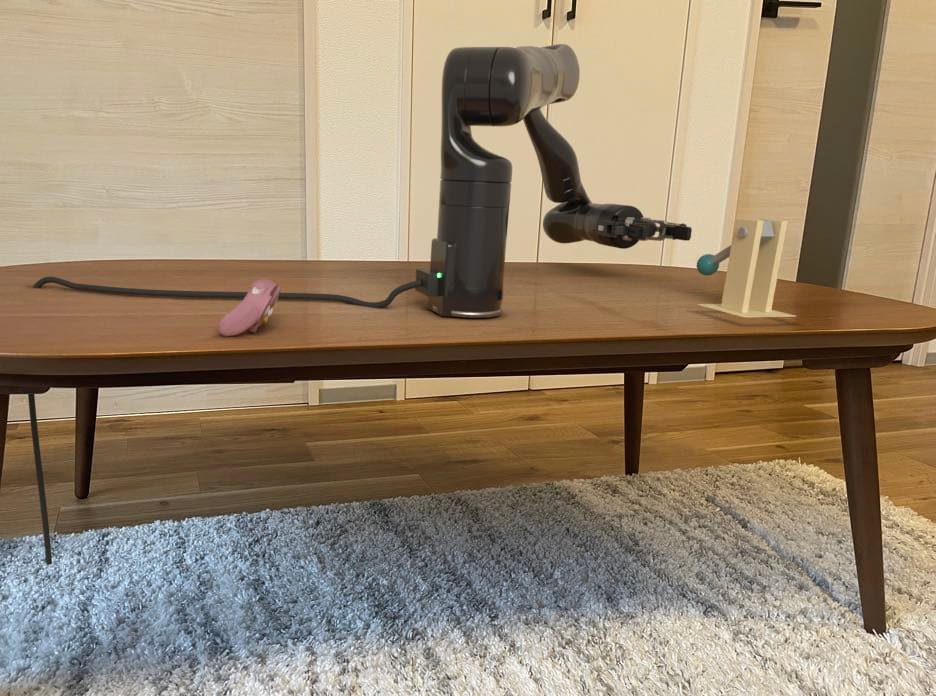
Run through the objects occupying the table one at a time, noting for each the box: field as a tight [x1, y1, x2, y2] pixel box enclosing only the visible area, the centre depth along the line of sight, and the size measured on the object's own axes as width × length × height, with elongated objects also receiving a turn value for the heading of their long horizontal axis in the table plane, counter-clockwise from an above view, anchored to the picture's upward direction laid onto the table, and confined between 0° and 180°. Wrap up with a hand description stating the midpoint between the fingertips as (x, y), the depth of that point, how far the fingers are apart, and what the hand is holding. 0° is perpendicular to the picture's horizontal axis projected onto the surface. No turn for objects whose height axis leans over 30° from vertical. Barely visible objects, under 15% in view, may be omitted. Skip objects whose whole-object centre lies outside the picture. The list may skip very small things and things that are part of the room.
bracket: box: [696, 217, 796, 318], centre depth 109 cm, size 10×9×14 cm
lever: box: [696, 220, 774, 277], centre depth 113 cm, size 14×3×3 cm
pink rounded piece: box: [217, 278, 282, 337], centre depth 89 cm, size 10×5×7 cm, turn 179°
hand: (667, 233), depth 127 cm, fingers open, 8 cm apart
